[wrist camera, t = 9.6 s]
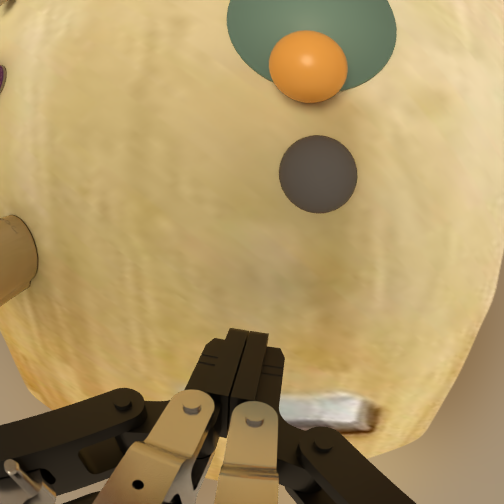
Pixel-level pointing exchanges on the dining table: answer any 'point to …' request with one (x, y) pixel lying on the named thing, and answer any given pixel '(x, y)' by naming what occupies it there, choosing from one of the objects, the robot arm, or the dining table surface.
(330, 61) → the orange ball
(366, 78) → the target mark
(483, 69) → the dining table surface
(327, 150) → the dark grey ball
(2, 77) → the container
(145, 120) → the dining table surface
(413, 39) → the dining table surface
